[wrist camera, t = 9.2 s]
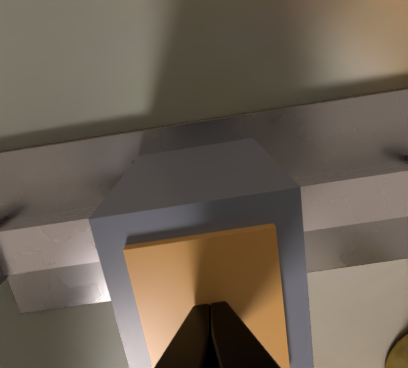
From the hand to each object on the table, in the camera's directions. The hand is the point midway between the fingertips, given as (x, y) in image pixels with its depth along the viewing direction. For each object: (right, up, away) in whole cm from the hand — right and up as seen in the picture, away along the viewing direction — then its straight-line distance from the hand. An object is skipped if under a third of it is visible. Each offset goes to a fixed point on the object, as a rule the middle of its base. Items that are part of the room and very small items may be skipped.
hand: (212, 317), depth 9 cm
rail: (0, +2, +7) cm, 8 cm away
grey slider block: (0, +2, +7) cm, 7 cm away
